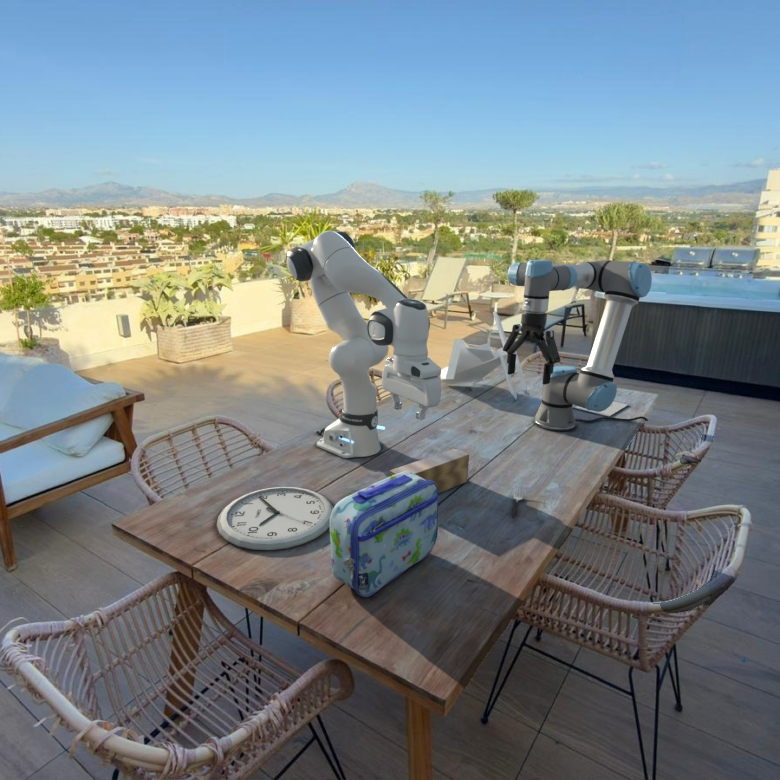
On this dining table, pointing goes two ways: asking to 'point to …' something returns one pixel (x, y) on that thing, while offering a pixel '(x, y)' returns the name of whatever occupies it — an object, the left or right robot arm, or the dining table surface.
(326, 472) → the dining table surface
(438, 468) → the bar
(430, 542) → the lunch box
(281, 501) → the wall clock
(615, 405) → the invitation card
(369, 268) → the left robot arm
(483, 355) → the white plastic object
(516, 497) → the fork
